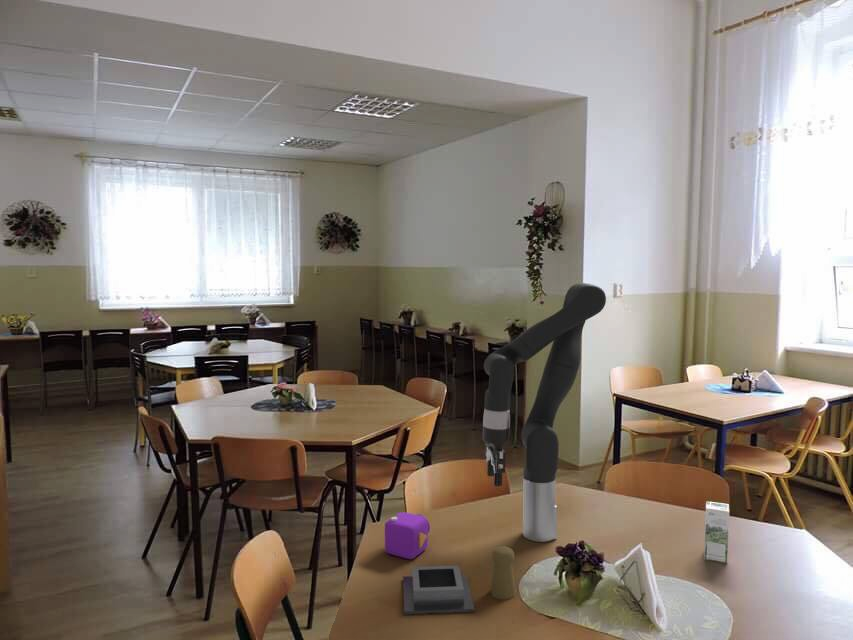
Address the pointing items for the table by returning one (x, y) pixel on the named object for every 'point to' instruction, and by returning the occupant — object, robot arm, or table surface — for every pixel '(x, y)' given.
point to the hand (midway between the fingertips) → (494, 480)
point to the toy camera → (406, 535)
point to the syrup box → (716, 532)
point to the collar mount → (437, 591)
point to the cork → (503, 573)
